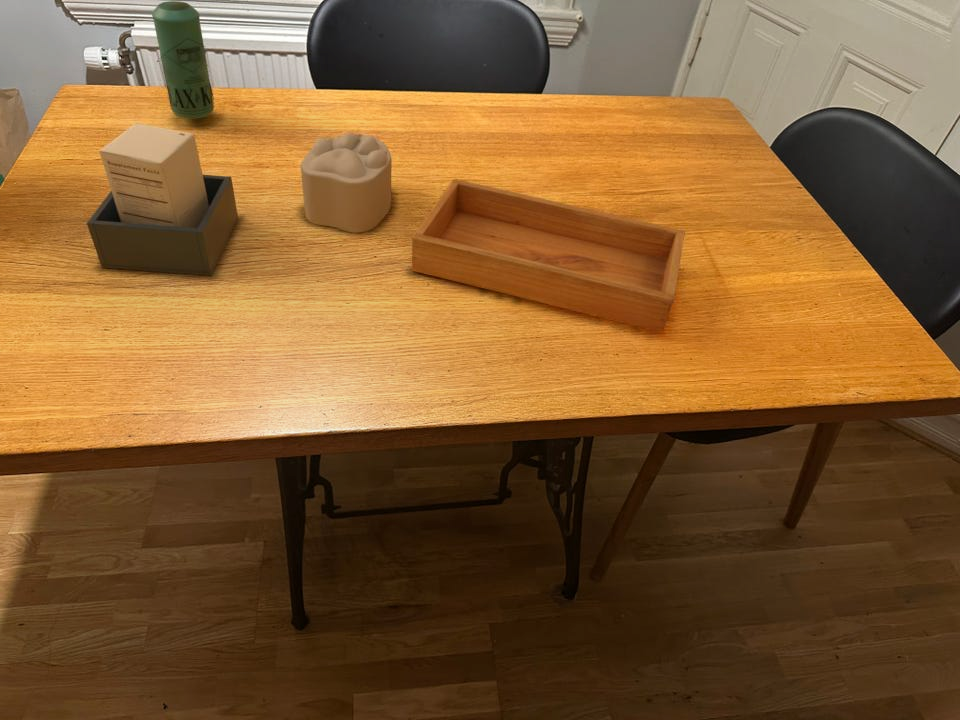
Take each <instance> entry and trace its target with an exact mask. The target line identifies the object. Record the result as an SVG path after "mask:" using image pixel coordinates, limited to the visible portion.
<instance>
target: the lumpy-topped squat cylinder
mask: <svg viewBox="0 0 960 720" xmlns="http://www.w3.org/2000/svg"><path fill="white" fill-rule="evenodd" d="M392 166H393V165H392V155H391V152H390V149H389V147H388V146H387V144H385V142H383V141H382V140H381V139H379V138H378V137H376V136H374V135H369V134H361V133H354V132H347V133H344V134H342V135H338V136H334V137H329V138H326V137H319V138H317V139H316V140H315V141H314V143H313V145H312V148H311V150H310V151H309V152H308V153H307V154H306V155H305V156H304V157H303V159H302V160H301V163H300V173H301V186H302V196H303V197H302V199H303V209H304V217H305V218H306V220H307V221H308V222H309V223H312V224H314V225H318V226H326V227H332V228H335V229H339V230H342V231H344V232H349V233H355V234H358V233H359V234H360V233H364V232H369V231H370V230H372V229H374V228H376V227H377V226H378V224H380V223H381V222H382V221H383V219H384V218H385V217H386V215H387V214H388V212H389V211H390V209H391V206H392V168H393V167H392Z"/></svg>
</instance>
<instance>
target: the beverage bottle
mask: <svg viewBox="0 0 960 720" xmlns="http://www.w3.org/2000/svg"><path fill="white" fill-rule="evenodd" d="M151 18H152V20H153V24H154V29H155V34H156V39H157V45H158V49H159V56H160V58H159V61H160V62H161V67H162V70H161V71H162V73H163V74H162V75H163V79H164V82H165V83H164V85H165V87H166V89H165V91H166V92H167V97H168V99H167V100H168V101H169V106H170V107H169V108H170V109H171V111H172V113H173V114H174V115H175V116H176V117H179V118H182V119H191V120H194V119H202V118H205V117H209V116H210V115H212V114H213V112H214V109H215V106H216V105H215V103H214V101H215V98H214V93H213V92H214V91H213V87H212V83H211V81H212V80H211V79H210V76H211V75H210V72H209V71H210V70H209V64H208V62H209V61H208V60H207V55H206V52H207V49H206V46H205V45H204V39H203V32H202V25H201V20H200V13H199V11H198V10H197V9H196V8H194V7H193V6H192V5H191V4H189V3H188V2H184V1H180V0H168V1H163V2H161V3H158V5H157V6H156V7H155V8H154V9H153V11H152V12H151Z"/></svg>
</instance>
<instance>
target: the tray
mask: <svg viewBox="0 0 960 720" xmlns="http://www.w3.org/2000/svg"><path fill="white" fill-rule="evenodd" d="M685 235H686V231H685V230H682V229H679V228H674V227H669V226H665V225H661V224H657V223H653V222H647V221H642V220H638V219H634V218H629V217H625V216H621V215H616V214H612V213H607V212H603V211H600V210H599V211H598V210H594V209H589V208H585V207H580V206H577V205H572V204H567V203H563V202H559V201H554V200H549V199H546V198H541V197H538V196H537V197H536V196H532V195H528V194H523V193H519V192H514V191H509V190H505V189H502V188H498V187H493V186H488V185H483V184H480V183H475V182H470V181H466V180H463V179H456V178H453V179H452V180H451V182H450V183H449V184H448V186H447V187H446V188H445V190H444V192H443V193H442V194H441V195H440V197H439V198H438V200H436V203H435V204H434V206H433V207H432V208H431V210H430V211H429V212H428V214H427V215H426V217H425V218H424V220H423V221H422V222H421V224H420V226H419V227H418V228H417V229H416V231H415V232H414V233H413V235H412V239H411V245H412V246H411V271H413V272H415V273H420V274H425V275H428V276H433V277H437V278H440V279H445V280H449V281H452V282H457V283H461V284H465V285H469V286H473V287H477V288H482V289H486V290H490V291H494V292H498V293H502V294H506V295H510V296H514V297H518V298H522V299H524V300H525V299H526V300H529V301H535V302H538V303H541V304H546V305H550V306H553V307H559V308H562V309H566V310H570V311H573V312H574V311H575V312H578V313H583V314H587V315H590V316H594V317H598V318H602V319H606V320H610V321H613V322H614V321H615V322H619V323H623V324H627V325H631V326H635V327H638V328H643V329H646V330H650V331H654V332H658V333H663V332H664V329H665V327H666V324H667V321H668V319H669V315H670V312H671V309H672V306H673V303H674V300H675V294H676V288H677V284H678V283H677V282H678V277H679V271H680V265H681V259H682V254H683V247H684V240H685Z"/></svg>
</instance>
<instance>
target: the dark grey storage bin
mask: <svg viewBox="0 0 960 720" xmlns="http://www.w3.org/2000/svg"><path fill="white" fill-rule="evenodd" d="M202 175H203V179H204V184H205V189H206V194H207V199H208V204H209V208H208V210H207V212H206V214H205V216H204V218H203V219H202V221H201V223H200V225H199V227H198V229H197V228H186V227H173V226H160V225H147V224H134V223H122V222H121V220H120V217H119V213H118V210H117V207H116V204H115V200H114V197H113V194H112V191H111V190H110V191H109V193H108V194H107V195H106V196H105V198H104V199H103V201H102V202H101V203H100V205H99V206H98V207H97V209H96V210H95V212H93V214H92V215H91V216H90V218H89V219H88V221H87V222H86V225H87V229H88V231H89V234H90V238H91V240H92V244H93V247H94V249H95V252H96V255H97V258H98V261H99V264H100V267H101V268H102V269H114V270H115V269H116V270H127V271H128V270H129V271H143V272H155V273H166V274H167V273H170V274H180V275H181V274H184V275H196V276H210V277H211V276H212V275H213V273H214V271H215V269H216V267H217V265H218V263H219V260H220V259H221V256H222V254H223V252H224V250H225V247H226V246H227V243H228V241H229V239H230V237H231V235H232V233H233V230H234V229H235V227H236V225H237V222H238V220H239V215H238V209H237V202H236V197H235V191H234V185H233V180H232V176H227V175H214V174H204V173H202Z"/></svg>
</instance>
